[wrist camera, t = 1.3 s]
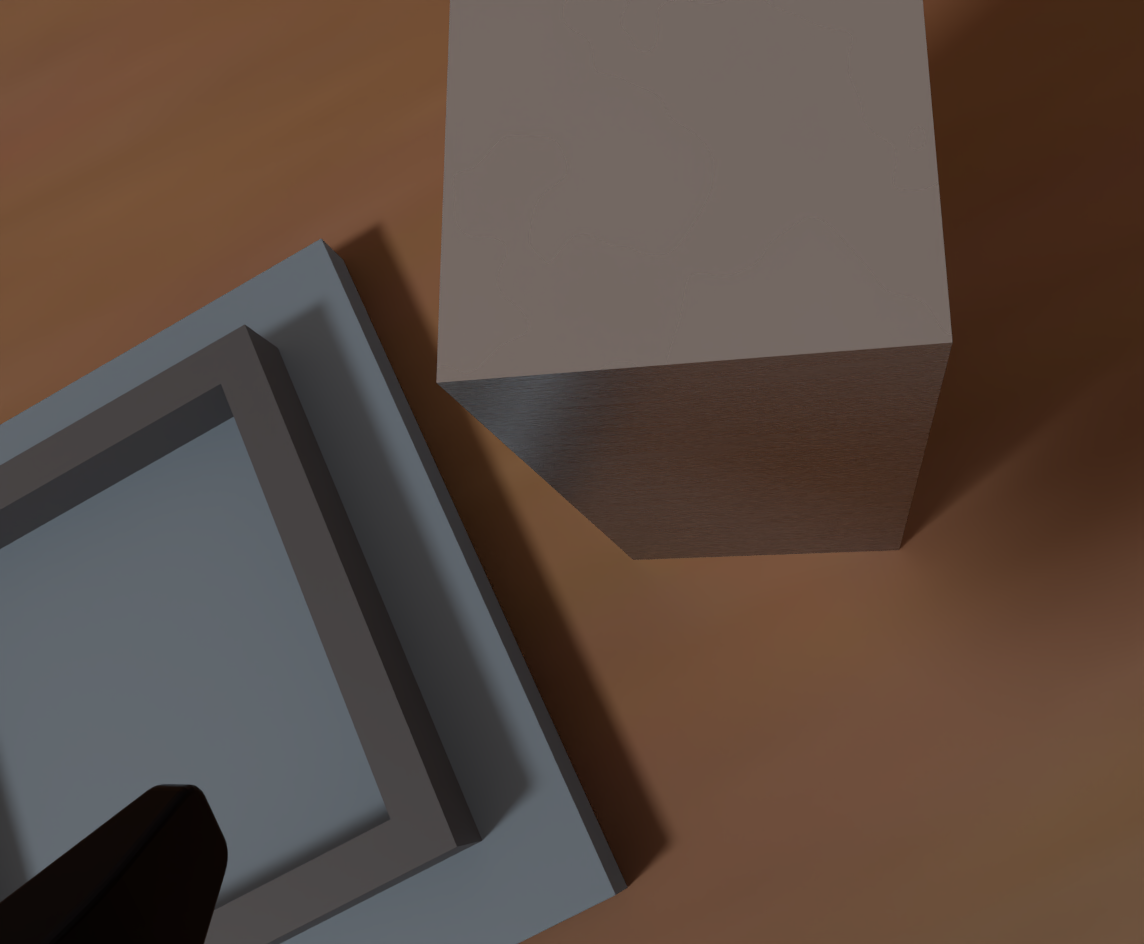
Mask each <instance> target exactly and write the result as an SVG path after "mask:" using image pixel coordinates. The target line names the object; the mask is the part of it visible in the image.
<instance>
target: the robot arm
mask: <svg viewBox="0 0 1144 944" xmlns="http://www.w3.org/2000/svg"><path fill="white" fill-rule="evenodd" d="M227 862H228V849H227V843H226V840H225V837H224V835H223V833H222V831H221V829H220V827H219V824H218V822H217V820H216V818H215V816H214V814H213V812H212V809H211V807H210V805H209V803H208V801H207V799H206V796H205V795H204V793H203V791H202V790H201V789H199V788H198V787H197V786H195V785H191V784H161V785H156V786H154V787H152V788H150V789H149V790H147V791H146V792H144V793H143V794H142V795H141V796H139V797H138V798H137V799H135V800H134V801H133V802H131V803H130V804H129V805H127V806H126V807H125V808H123V809H122V810H121V811H119V812H118V813H117V814H116V815H114V816H113V817H112V818H110V819H109V820H108V821H106V822H105V823H104V824H102V825H101V826H100V827H98V828H97V829H96V830H94V831H93V832H92V833H91V834H89V835H88V836H87V837H85V838H84V839H83V840H81V841H80V842H79V843H77V844H76V845H75V846H73V847H72V848H71V849H70V850H68V851H67V852H66V853H64V854H63V855H62V856H60V857H59V858H58V859H56V860H55V861H54V862H52V863H51V864H50V865H48V866H47V867H46V868H45V869H43V870H42V871H41V872H39V873H38V874H37V875H35V876H34V877H33V878H31V879H30V880H29V881H27V882H26V883H25V884H23V885H22V886H21V887H20V888H18V889H17V890H16V891H14V892H13V893H12V894H10V895H9V896H8V897H6V898H5V899H4V900H2V901H1V902H0V944H204V943H205V939H206V936H207V933H208V929H209V926H210V923H211V919H212V916H213V912H214V909H215V906H216V902H217V899H218V896H219V892H220V889H221V886H222V882H223V879H224V876H225V872H226V868H227Z"/></svg>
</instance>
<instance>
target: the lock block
mask: <svg viewBox="0 0 1144 944" xmlns="http://www.w3.org/2000/svg"><path fill="white" fill-rule="evenodd" d="M952 343H953V342H952V331H951V319H950V308H949V296H948V285H947V274H946V262H945V251H944V239H943V228H942V216H941V205H940V193H939V182H938V170H937V159H936V147H935V136H934V124H933V113H932V101H931V90H930V78H929V67H928V55H927V44H926V33H925V21H924V10H923V0H450V20H449V48H448V76H447V103H446V131H445V159H444V187H443V215H442V243H441V271H440V298H439V326H438V354H437V382H436V383H437V384H438V385H440V386H441V387H442V388H443V389H444V390H445V391H446V392H447V393H448V394H450V395H451V396H452V397H453V398H454V399H455V400H456V401H457V402H458V403H460V404H461V405H462V406H463V407H464V408H465V409H466V410H467V411H468V412H470V413H471V414H472V415H473V416H474V417H475V418H476V419H477V420H478V421H480V422H481V423H482V424H483V425H484V426H485V427H486V428H487V429H488V430H490V431H491V432H492V433H493V434H494V435H495V436H496V437H497V438H498V439H500V440H501V441H502V442H503V443H504V444H505V445H506V446H507V447H508V448H510V449H511V450H512V451H513V452H514V453H515V454H516V455H517V456H518V457H520V458H521V459H522V460H523V461H524V462H525V463H526V464H527V465H528V466H530V467H531V468H532V469H533V470H534V471H535V472H536V473H537V474H538V475H540V476H541V477H542V478H543V479H544V480H545V481H546V482H547V483H548V484H549V485H551V486H552V487H553V488H554V489H555V490H556V491H557V492H558V493H559V494H561V495H562V496H563V497H564V498H565V499H566V500H567V501H568V502H569V503H571V504H572V505H573V506H574V507H575V508H576V509H577V510H578V511H579V512H581V513H582V514H583V515H584V516H585V517H586V518H587V519H588V520H589V521H591V522H592V523H593V524H594V525H595V526H596V527H597V528H598V529H599V530H601V531H602V532H603V533H604V534H605V535H606V536H607V537H608V538H609V539H611V540H612V541H613V542H614V543H615V544H616V545H617V546H618V547H619V548H621V549H622V550H623V551H624V552H625V553H626V554H627V555H628V556H629V557H631V558H632V559H633V560H641V559H668V558H695V557H722V556H749V555H776V554H803V553H830V552H857V551H884V550H899V549H900V545H901V541H902V537H903V533H904V529H905V526H906V522H907V518H908V514H909V510H910V506H911V502H912V498H913V494H914V491H915V487H916V483H917V479H918V475H919V471H920V467H921V463H922V459H923V455H924V452H925V448H926V444H927V440H928V436H929V432H930V428H931V424H932V420H933V417H934V413H935V409H936V405H937V401H938V397H939V393H940V389H941V385H942V381H943V378H944V374H945V370H946V366H947V362H948V358H949V354H950V350H951V346H952Z"/></svg>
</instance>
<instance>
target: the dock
mask: <svg viewBox="0 0 1144 944" xmlns="http://www.w3.org/2000/svg"><path fill="white" fill-rule="evenodd" d="M161 784H191V785H195V786H197V787H198V788H199V789H201V790H202V791H203V793H204V795H205V796H206V799H207V801H208V803H209V805H210V807H211V809H212V812H213V814H214V816H215V818H216V820H217V822H218V824H219V827H220V829H221V831H222V833H223V835H224V837H225V840H226V843H227V849H228V862H227V868H226V872H225V876H224V879H223V882H222V886H221V889H220V892H219V896H218V899H217V902H216V906H215V909H214V912H213V916H212V919H211V923H210V926H209V929H208V933H207V936H206V939H205V943H204V944H518V943H520V942H522V941H524V940H526V939H528V938H530V937H532V936H534V935H536V934H538V933H540V932H542V931H544V930H546V929H548V928H550V927H552V926H554V925H556V924H558V923H560V922H562V921H564V920H566V919H568V918H570V917H572V916H574V915H576V914H578V913H580V912H582V911H584V910H586V909H588V908H590V907H592V906H594V905H596V904H598V903H600V902H602V901H604V900H606V899H608V898H610V897H612V896H614V895H616V894H618V893H619V892H621V891H623V890H624V889H626V888H628V887H627V885H626V883H625V881H624V879H623V876H622V874H621V872H620V870H619V868H618V865H617V863H616V861H615V859H614V857H613V854H612V852H611V850H610V848H609V846H608V843H607V841H606V839H605V837H604V835H603V832H602V830H601V828H600V826H599V823H598V821H597V819H596V817H595V815H594V812H593V810H592V808H591V806H590V804H589V801H588V799H587V797H586V795H585V793H584V790H583V788H582V786H581V784H580V782H579V779H578V777H577V775H576V773H575V771H574V768H573V766H572V764H571V762H570V759H569V757H568V755H567V753H566V751H565V748H564V746H563V744H562V742H561V740H560V737H559V735H558V733H557V731H556V729H555V726H554V724H553V722H552V720H551V718H550V715H549V713H548V711H547V709H546V707H545V704H544V702H543V700H542V698H541V695H540V693H539V691H538V689H537V687H536V684H535V682H534V680H533V678H532V676H531V673H530V671H529V669H528V667H527V665H526V662H525V660H524V658H523V656H522V654H521V651H520V649H519V647H518V645H517V643H516V640H515V638H514V636H513V634H512V631H511V629H510V627H509V625H508V623H507V620H506V618H505V616H504V614H503V612H502V609H501V607H500V605H499V603H498V601H497V598H496V596H495V594H494V592H493V590H492V587H491V585H490V583H489V581H488V579H487V576H486V574H485V572H484V570H483V567H482V565H481V563H480V561H479V559H478V556H477V554H476V552H475V550H474V548H473V545H472V543H471V541H470V539H469V537H468V534H467V532H466V530H465V528H464V526H463V523H462V521H461V519H460V517H459V515H458V512H457V510H456V508H455V506H454V503H453V501H452V499H451V497H450V495H449V492H448V490H447V488H446V486H445V484H444V481H443V479H442V477H441V475H440V473H439V470H438V468H437V466H436V464H435V462H434V459H433V457H432V455H431V453H430V451H429V448H428V446H427V444H426V442H425V439H424V437H423V435H422V433H421V431H420V428H419V426H418V424H417V422H416V420H415V417H414V415H413V413H412V411H411V409H410V406H409V404H408V402H407V400H406V398H405V395H404V393H403V391H402V389H401V387H400V384H399V382H398V380H397V378H396V375H395V373H394V371H393V369H392V367H391V364H390V362H389V360H388V358H387V356H386V353H385V351H384V349H383V347H382V345H381V342H380V340H379V338H378V336H377V334H376V331H375V329H374V327H373V325H372V322H371V320H370V318H369V316H368V314H367V311H366V309H365V307H364V305H363V303H362V300H361V298H360V296H359V294H358V292H357V289H356V287H355V285H354V283H353V281H352V278H351V276H350V274H349V272H348V270H347V267H346V265H345V263H344V261H343V259H342V258H341V257H340V256H339V255H338V254H337V253H336V252H334V251H333V250H332V249H331V248H330V247H329V246H328V245H327V244H326V243H325V242H324V241H323V240H322V239H320V240H318V241H316V242H314V243H313V244H311V245H309V246H308V247H306V248H304V249H302V250H301V251H299V252H297V253H296V254H294V255H292V256H290V257H289V258H287V259H285V260H283V261H282V262H280V263H278V264H277V265H275V266H273V267H271V268H270V269H268V270H266V271H265V272H263V273H261V274H259V275H258V276H256V277H254V278H252V279H251V280H249V281H247V282H246V283H244V284H242V285H240V286H239V287H237V288H235V289H234V290H232V291H230V292H228V293H227V294H225V295H223V296H221V297H220V298H218V299H216V300H215V301H213V302H211V303H209V304H208V305H206V306H204V307H203V308H201V309H199V310H197V311H196V312H194V313H192V314H190V315H189V316H187V317H185V318H184V319H182V320H180V321H178V322H177V323H175V324H173V325H172V326H170V327H168V328H166V329H165V330H163V331H161V332H159V333H158V334H156V335H154V336H153V337H151V338H149V339H147V340H146V341H144V342H142V343H141V344H139V345H137V346H135V347H134V348H132V349H130V350H128V351H127V352H125V353H123V354H122V355H120V356H118V357H116V358H115V359H113V360H111V361H110V362H108V363H106V364H104V365H103V366H101V367H99V368H97V369H96V370H94V371H92V372H91V373H89V374H87V375H85V376H84V377H82V378H80V379H79V380H77V381H75V382H73V383H72V384H70V385H68V386H66V387H65V388H63V389H61V390H60V391H58V392H56V393H54V394H53V395H51V396H49V397H48V398H46V399H44V400H42V401H41V402H39V403H37V404H35V405H34V406H32V407H30V408H29V409H27V410H25V411H23V412H22V413H20V414H18V415H17V416H15V417H13V418H11V419H10V420H8V421H6V422H4V423H3V424H1V425H0V902H1V901H2V900H4V899H5V898H6V897H8V896H9V895H10V894H12V893H13V892H14V891H16V890H17V889H18V888H20V887H21V886H22V885H23V884H25V883H26V882H27V881H29V880H30V879H31V878H33V877H34V876H35V875H37V874H38V873H39V872H41V871H42V870H43V869H45V868H46V867H47V866H48V865H50V864H51V863H52V862H54V861H55V860H56V859H58V858H59V857H60V856H62V855H63V854H64V853H66V852H67V851H68V850H70V849H71V848H72V847H73V846H75V845H76V844H77V843H79V842H80V841H81V840H83V839H84V838H85V837H87V836H88V835H89V834H91V833H92V832H93V831H94V830H96V829H97V828H98V827H100V826H101V825H102V824H104V823H105V822H106V821H108V820H109V819H110V818H112V817H113V816H114V815H116V814H117V813H118V812H119V811H121V810H122V809H123V808H125V807H126V806H127V805H129V804H130V803H131V802H133V801H134V800H135V799H137V798H138V797H139V796H141V795H142V794H143V793H144V792H146V791H147V790H149V789H150V788H152V787H154V786H156V785H161Z"/></svg>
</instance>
